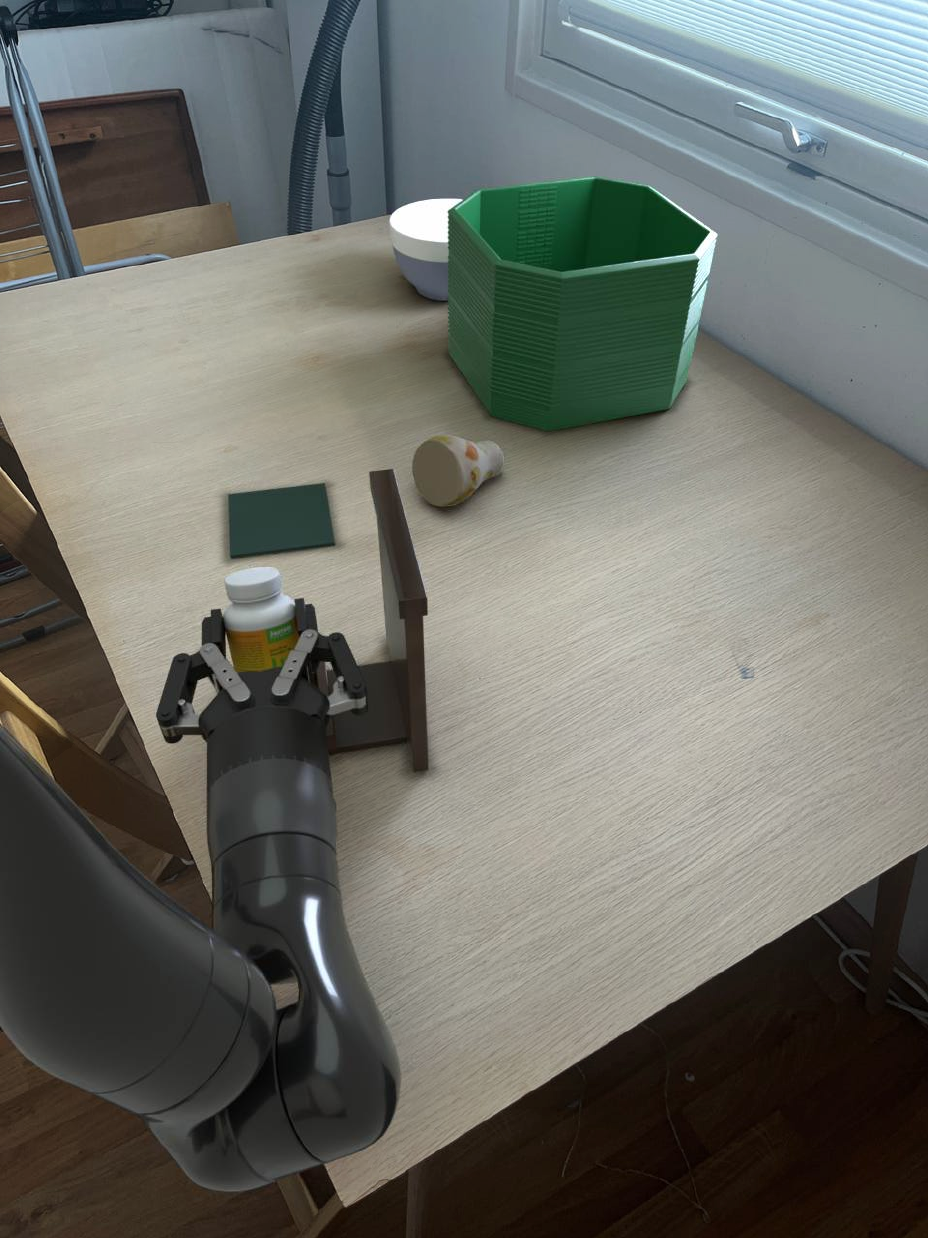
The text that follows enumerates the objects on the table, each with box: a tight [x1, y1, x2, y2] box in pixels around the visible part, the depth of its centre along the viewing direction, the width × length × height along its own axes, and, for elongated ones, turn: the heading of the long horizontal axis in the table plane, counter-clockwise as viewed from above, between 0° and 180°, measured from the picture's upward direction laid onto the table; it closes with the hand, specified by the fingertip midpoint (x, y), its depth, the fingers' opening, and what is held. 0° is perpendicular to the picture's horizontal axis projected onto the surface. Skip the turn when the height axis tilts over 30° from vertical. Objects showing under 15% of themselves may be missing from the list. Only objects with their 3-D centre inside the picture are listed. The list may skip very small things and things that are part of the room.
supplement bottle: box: [222, 566, 299, 674], centre depth 66 cm, size 5×5×10 cm
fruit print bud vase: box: [411, 434, 505, 507], centre depth 90 cm, size 8×10×10 cm
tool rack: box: [313, 468, 429, 773], centre depth 64 cm, size 15×14×18 cm
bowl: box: [388, 198, 464, 302], centre depth 124 cm, size 16×16×10 cm
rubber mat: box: [227, 482, 336, 560], centre depth 88 cm, size 10×10×1 cm
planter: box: [447, 176, 718, 432], centre depth 104 cm, size 26×26×18 cm
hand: (259, 612), depth 65 cm, fingers closed on supplement bottle, 5 cm apart
